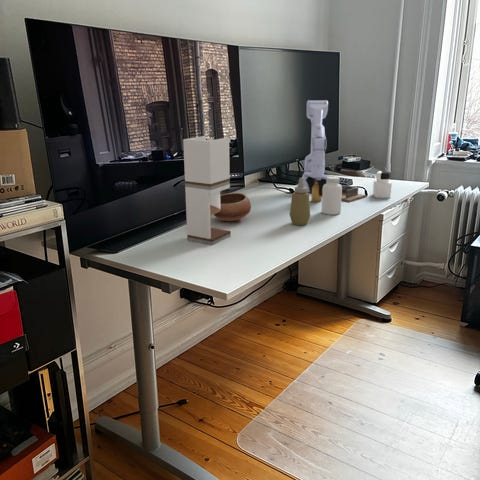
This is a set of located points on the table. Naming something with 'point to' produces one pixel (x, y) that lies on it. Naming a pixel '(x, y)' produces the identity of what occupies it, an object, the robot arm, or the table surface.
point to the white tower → (205, 186)
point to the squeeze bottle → (300, 205)
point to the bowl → (233, 207)
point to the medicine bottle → (382, 185)
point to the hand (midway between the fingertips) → (316, 194)
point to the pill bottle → (331, 196)
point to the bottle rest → (350, 194)
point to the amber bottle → (315, 192)
